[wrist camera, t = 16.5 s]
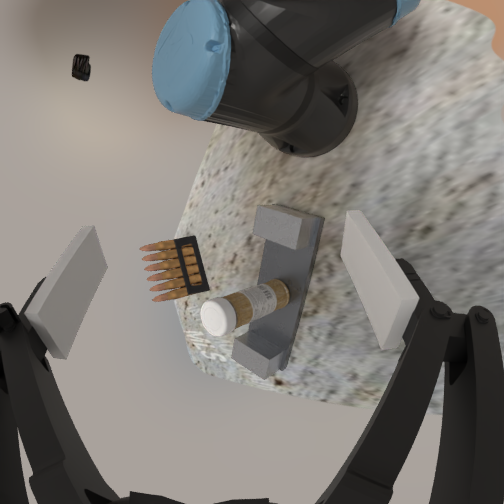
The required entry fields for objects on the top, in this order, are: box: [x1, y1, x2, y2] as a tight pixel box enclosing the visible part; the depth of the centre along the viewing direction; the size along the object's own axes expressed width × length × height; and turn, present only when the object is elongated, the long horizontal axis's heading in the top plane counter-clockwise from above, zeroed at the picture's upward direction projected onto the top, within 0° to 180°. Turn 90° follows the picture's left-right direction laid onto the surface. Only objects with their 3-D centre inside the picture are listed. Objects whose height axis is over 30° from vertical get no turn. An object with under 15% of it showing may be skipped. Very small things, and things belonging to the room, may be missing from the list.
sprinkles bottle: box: [201, 279, 289, 337], centre depth 40 cm, size 5×5×14 cm
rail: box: [231, 204, 325, 380], centre depth 45 cm, size 25×8×5 cm, turn 167°
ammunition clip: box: [140, 236, 210, 302], centre depth 54 cm, size 11×2×12 cm, turn 19°
